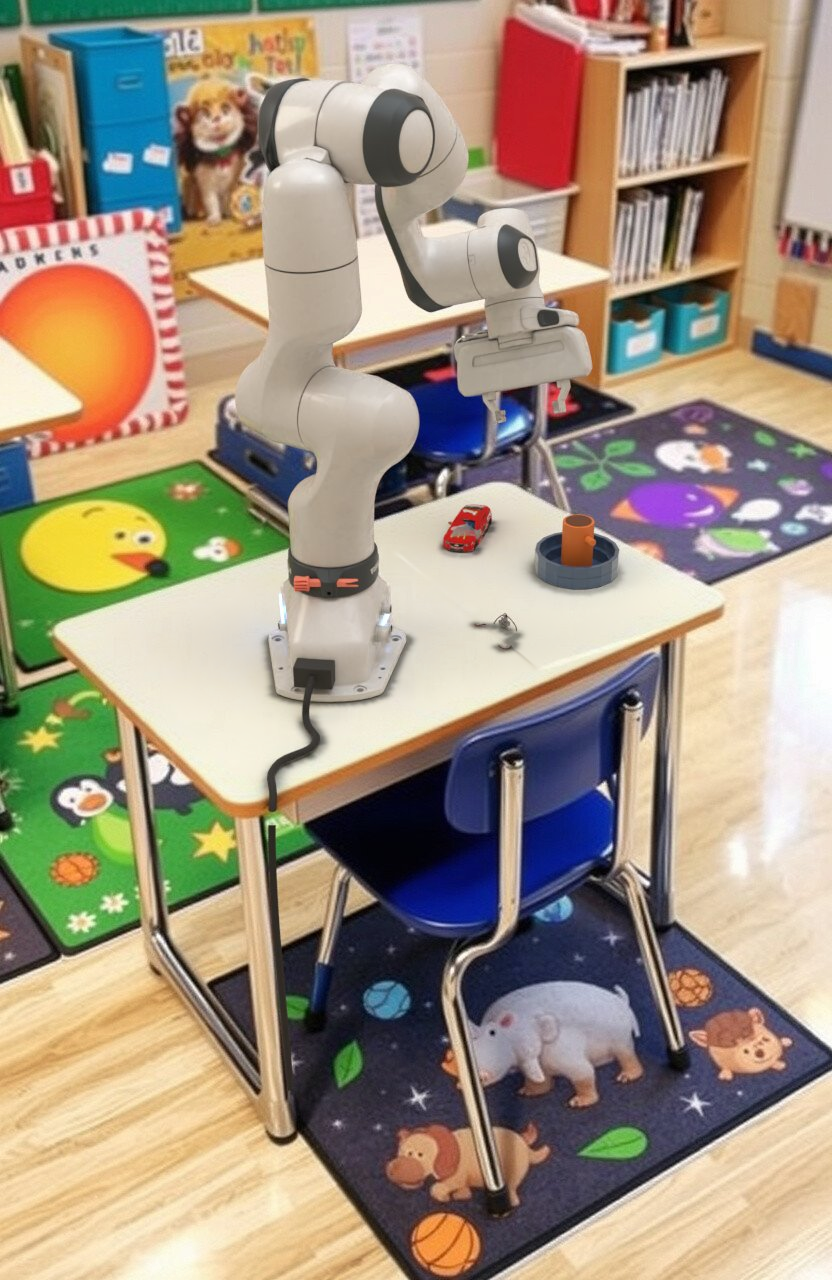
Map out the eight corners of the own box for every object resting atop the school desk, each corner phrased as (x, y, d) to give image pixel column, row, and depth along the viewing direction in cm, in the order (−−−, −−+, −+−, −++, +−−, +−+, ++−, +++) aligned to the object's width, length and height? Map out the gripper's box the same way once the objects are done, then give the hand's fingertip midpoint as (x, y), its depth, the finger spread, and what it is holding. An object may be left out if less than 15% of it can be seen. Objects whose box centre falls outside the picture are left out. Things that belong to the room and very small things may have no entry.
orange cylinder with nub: (554, 567, 208) (556, 518, 203) (580, 559, 209) (582, 511, 205) (578, 583, 203) (580, 534, 199) (604, 576, 205) (606, 526, 201)
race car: (472, 558, 212) (472, 535, 210) (438, 554, 213) (438, 530, 211) (497, 522, 222) (497, 499, 220) (464, 518, 224) (464, 495, 222)
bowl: (622, 592, 202) (623, 568, 200) (536, 593, 202) (537, 568, 200) (614, 554, 212) (615, 530, 210) (532, 554, 213) (533, 531, 210)
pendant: (528, 641, 190) (529, 624, 189) (503, 651, 188) (503, 634, 187) (492, 618, 196) (492, 601, 194) (467, 627, 194) (467, 610, 192)
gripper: (444, 335, 206) (457, 428, 208) (575, 309, 198) (588, 406, 199) (460, 337, 212) (472, 428, 214) (588, 312, 204) (601, 407, 205)
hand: (529, 417), depth 206 cm, fingers open, 8 cm apart
